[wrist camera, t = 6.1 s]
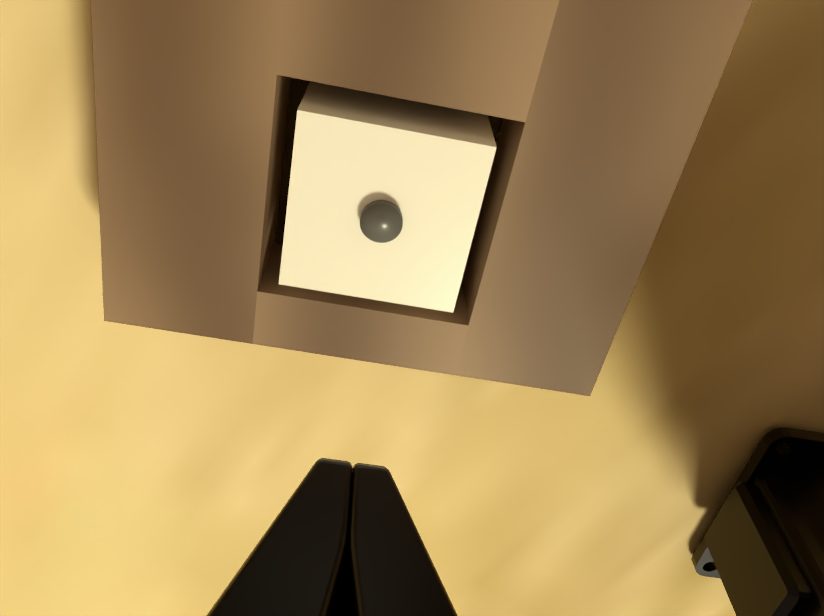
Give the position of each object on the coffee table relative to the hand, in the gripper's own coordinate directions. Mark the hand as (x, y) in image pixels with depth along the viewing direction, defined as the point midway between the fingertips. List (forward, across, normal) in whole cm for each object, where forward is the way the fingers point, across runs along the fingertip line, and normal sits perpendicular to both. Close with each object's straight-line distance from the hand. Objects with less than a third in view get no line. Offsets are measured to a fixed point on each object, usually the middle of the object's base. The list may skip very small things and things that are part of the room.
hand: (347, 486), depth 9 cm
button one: (+10, 0, 0) cm, 10 cm away
